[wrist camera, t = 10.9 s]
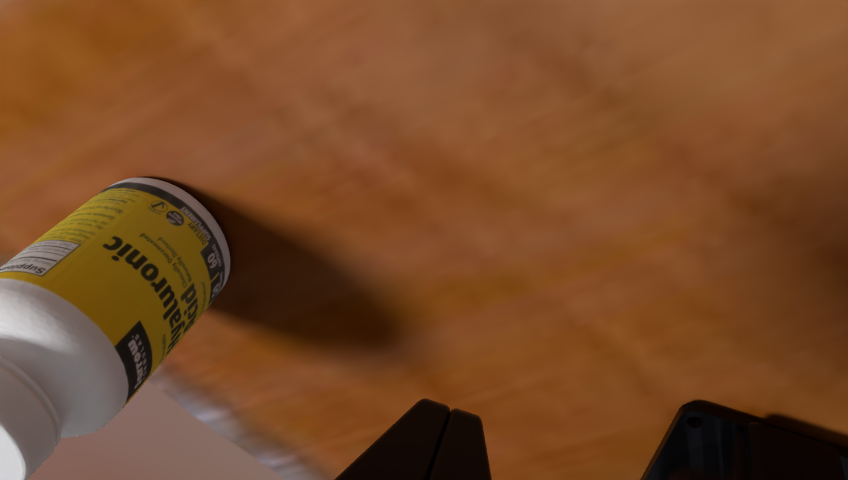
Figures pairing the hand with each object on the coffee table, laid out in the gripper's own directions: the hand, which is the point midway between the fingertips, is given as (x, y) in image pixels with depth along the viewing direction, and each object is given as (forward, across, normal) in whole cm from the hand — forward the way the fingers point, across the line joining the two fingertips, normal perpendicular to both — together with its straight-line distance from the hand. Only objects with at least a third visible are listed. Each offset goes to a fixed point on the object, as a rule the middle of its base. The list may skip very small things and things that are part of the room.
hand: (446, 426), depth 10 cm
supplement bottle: (+12, +12, +9) cm, 19 cm away
